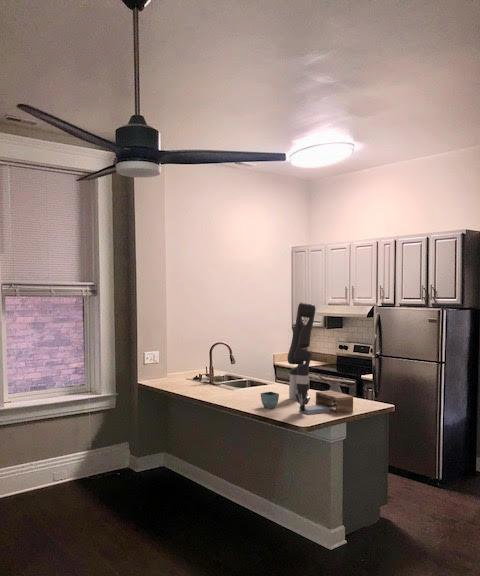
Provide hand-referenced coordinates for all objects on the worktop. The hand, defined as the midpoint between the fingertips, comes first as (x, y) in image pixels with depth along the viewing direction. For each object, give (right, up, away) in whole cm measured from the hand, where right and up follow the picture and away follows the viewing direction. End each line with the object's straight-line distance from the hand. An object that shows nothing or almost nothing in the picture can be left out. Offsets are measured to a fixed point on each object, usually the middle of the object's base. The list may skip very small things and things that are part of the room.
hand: (302, 411), depth 303 cm
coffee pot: (+24, -2, +40) cm, 47 cm away
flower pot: (-19, -2, +15) cm, 24 cm away
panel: (+8, -2, +4) cm, 9 cm away
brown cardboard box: (+21, -2, +11) cm, 24 cm away
